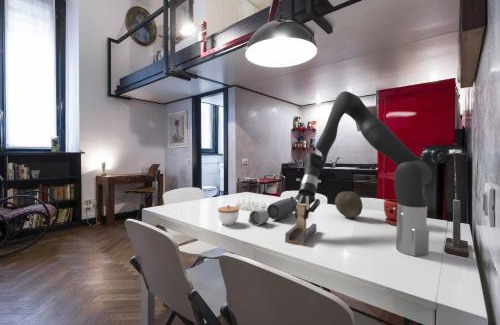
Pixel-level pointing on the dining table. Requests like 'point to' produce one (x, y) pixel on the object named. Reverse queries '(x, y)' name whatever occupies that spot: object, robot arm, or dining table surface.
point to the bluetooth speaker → (280, 209)
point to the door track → (300, 234)
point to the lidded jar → (228, 214)
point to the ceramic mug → (258, 217)
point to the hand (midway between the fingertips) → (300, 218)
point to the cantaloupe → (348, 204)
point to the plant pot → (390, 211)
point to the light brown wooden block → (301, 216)
